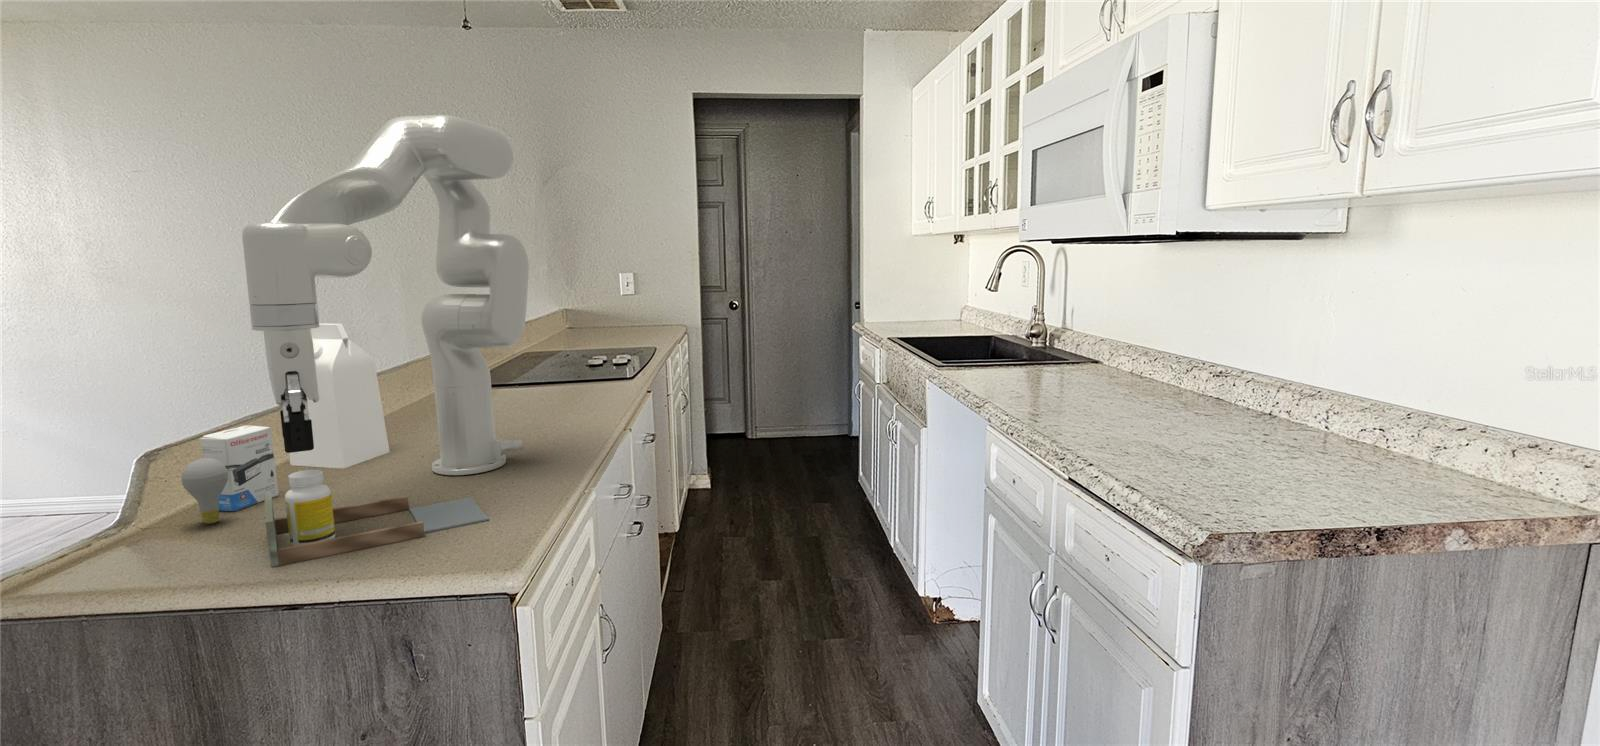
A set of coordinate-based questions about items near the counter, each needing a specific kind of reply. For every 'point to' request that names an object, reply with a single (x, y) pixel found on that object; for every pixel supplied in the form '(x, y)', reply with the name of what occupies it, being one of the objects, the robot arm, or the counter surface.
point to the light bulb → (206, 485)
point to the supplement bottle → (309, 508)
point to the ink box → (243, 464)
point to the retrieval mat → (448, 514)
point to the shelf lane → (344, 542)
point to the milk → (343, 404)
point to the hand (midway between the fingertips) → (298, 444)
